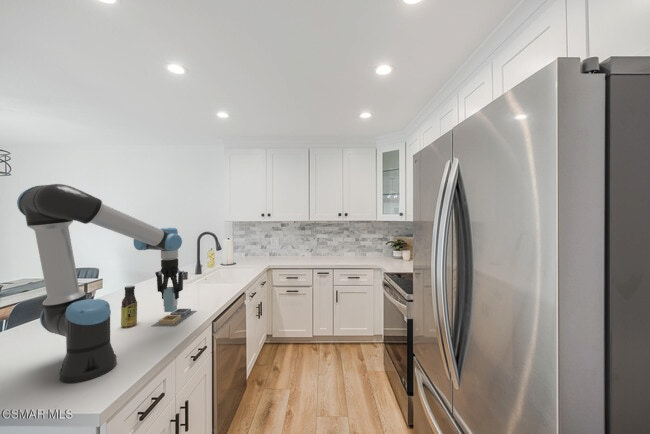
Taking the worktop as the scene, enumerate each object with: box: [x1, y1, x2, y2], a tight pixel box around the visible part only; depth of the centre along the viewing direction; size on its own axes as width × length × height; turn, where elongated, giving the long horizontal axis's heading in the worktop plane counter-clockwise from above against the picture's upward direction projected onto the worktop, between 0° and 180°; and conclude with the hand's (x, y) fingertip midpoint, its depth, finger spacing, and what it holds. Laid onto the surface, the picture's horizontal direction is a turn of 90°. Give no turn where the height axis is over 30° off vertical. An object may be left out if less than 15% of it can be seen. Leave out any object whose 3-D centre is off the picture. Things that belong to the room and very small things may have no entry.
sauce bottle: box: [120, 285, 138, 329], centre depth 134 cm, size 6×6×20 cm
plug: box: [163, 286, 178, 313], centre depth 139 cm, size 4×4×12 cm
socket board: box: [150, 308, 198, 328], centre depth 143 cm, size 22×12×3 cm, turn 179°
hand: (170, 305), depth 139 cm, fingers closed on plug, 4 cm apart
